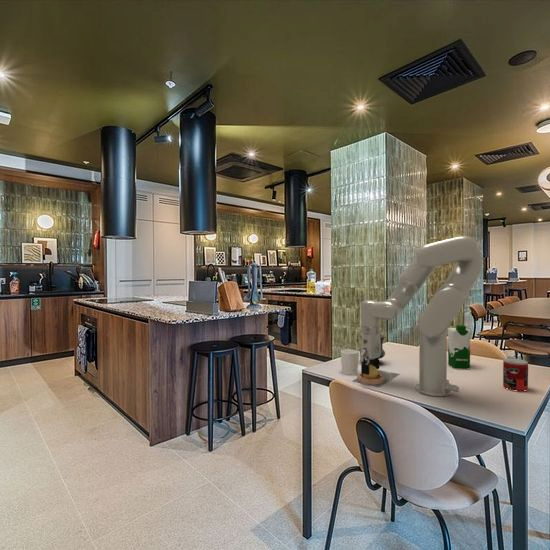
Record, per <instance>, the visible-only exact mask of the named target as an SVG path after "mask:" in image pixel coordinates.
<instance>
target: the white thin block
mask: <svg viewBox="0 0 550 550" xmlns="http://www.w3.org/2000/svg"><path fill="white" fill-rule="evenodd" d="M377 370H378V374H381V375H382V376H384V379H386V380H390V381H392V380H391V373H390V371H387V372H385V371H386V370H381V369H377ZM380 370H381V371H380Z"/></svg>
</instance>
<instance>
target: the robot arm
mask: <svg viewBox="0 0 550 550" xmlns="http://www.w3.org/2000/svg"><path fill="white" fill-rule="evenodd" d="M453 263H455V264H454V265H455V266H454V267H453V268H452V270H451V271H450V274H449V275H448V277H447V279H446V280H445V282H443V284H442V285H441V286H440V287H439V288H438V289H437V290H436V291H435V293H434V295H433V296H432V297H431V299H430V301H429V302H428V303H427V304H426V307H425V308H424V309H423V311H422V312H421V313H420V315H419V317H418V319H417V322H416V323H417V329H418V330H419V352H418V353H419V354H418V355H419V356H418V357H419V360H418V361H419V364H418V365H419V366H418V367H419V368H418V369H419V370H418V371H419V373H418V374H419V375H418V376H419V381H418V383H416V384H415V385H414V389H415V391H416V392H419V393H420V394H423V395H426V396H430V397H438V398H439V397H440V398H441V397H448V396H451V394H452V392H454V393H459V392H460V387H458V385H457V384H451V383H450V380H449V379H447V375H448V374H447V373H448V372H447V369H448V367H447V366H448V365H447V363H448V328H449V326H450V325H451V323H452V322H453V320H454V319H455V317H456V316H457V315H458V313H459V312H460V311H461V309H462V308H463V305H464V303H465V298H466V297H467V295H468V294H469V292H470V291H471V289H472V288H473V286H474V284H475V283H476V281H477V279H479V276H480V274H481V272H482V268H483V257H482V253H481V252H480V249H479V247H478V243H477V242H476V240H475V239H474V238H473V237H471V236H467V235H461V236H455V237H452V238H447V239H443V240H440V241H434V242H432V243H431V242H430V243H426V244H423V245H421V246H420V247H419V248H418V249H417V251H416V255H415V256H414V257H413V259H412V261H411V262H410V263H409V265H407V267H406V269H405V270H404V271H403V273H401V276H400V278H399V280H398V284H397V286H396V287H395V288H394V290H393V292H392V293H391V294H390V296H389V297H388V298H387V299H386V300H385V301H379V300H375V299H364V300H362V301H361V303H360V305H361V306H360V308H361V309H360V318H361V319H360V328H361V329H360V334H362V338H361V339H360V340H361V341H360V342H361V345H360V349H361V354H360V353H359V361H360V367H361V371H360V373H362V374H366V375H369V365H368V363H369V360H370V359H371V360H372V365H373V366H375V367H376V369H377V370H380V366H379V361H380V359H381V358H380V357H379V356H380V355H381V339H380V328H381V320H385V321H392V320H394V319H396V318H397V317H398V316H399V315H400V314H402V312H403V310H404V309H405V308H406V306H407V305H408V304H409V303H410V302H411V300H412V299H413V298H414V296H415V295H416V294H417V293H418V292H419V291H420V290H421V288H422V287H423V286H424V284H425V283H426V281H427V280H428V279H429V277H430V276H431V275H432V273H434V271H435V270H436V268H437V267H438V266H443V265H448V264H449V265H450V264H453ZM366 360H367V361H366Z"/></svg>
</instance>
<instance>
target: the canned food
mask: <svg viewBox="0 0 550 550" xmlns="http://www.w3.org/2000/svg"><path fill="white" fill-rule="evenodd" d="M528 362H529V361H527V360H524V359H520V358H514V357H513V358H511V357H509V358H508V357H507V358H503V363H502V368H503V369H502V372H503V373H502V381H503V382H502V386H503V388H504V387H505V389H506V388H508V389H511V390H517V391H524V390H527V391H528V389H529V363H528ZM508 389H507V390H508ZM511 390H510V391H511Z"/></svg>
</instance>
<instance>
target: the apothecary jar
mask: <svg viewBox="0 0 550 550" xmlns="http://www.w3.org/2000/svg"><path fill="white" fill-rule="evenodd" d="M359 335H360V336H359V337H360V338H361V339H362V334H361V333H360V334H359ZM385 338H386V335H385V333H384V332H383V330H382V327H380V339H381V355H380V356H379V357H380V359H382V358H384V357H385V355H386V352H385V350H384V349H383V348H384V347H383V345H384V344H383V340H384V339H385ZM360 354H361V348H360V349H359V355H360ZM365 360H366V361H367V359H365ZM368 365H372V360H371V359H370V360H369V363H368ZM380 366H383V362H382V361H380V360H379V367H380Z"/></svg>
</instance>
